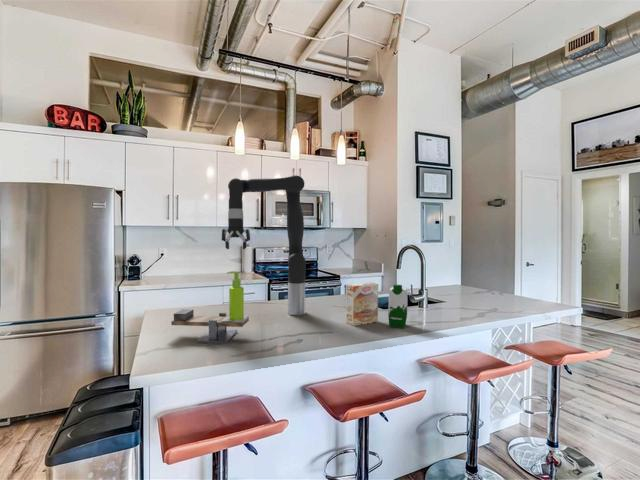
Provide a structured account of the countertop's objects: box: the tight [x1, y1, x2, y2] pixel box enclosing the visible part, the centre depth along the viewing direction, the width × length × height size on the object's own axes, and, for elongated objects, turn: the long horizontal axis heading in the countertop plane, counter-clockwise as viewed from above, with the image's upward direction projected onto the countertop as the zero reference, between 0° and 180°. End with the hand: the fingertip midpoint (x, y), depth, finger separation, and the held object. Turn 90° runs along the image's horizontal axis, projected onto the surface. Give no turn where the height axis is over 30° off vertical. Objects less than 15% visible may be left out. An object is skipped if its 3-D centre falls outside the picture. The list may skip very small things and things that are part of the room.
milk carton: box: [387, 284, 408, 329], centre depth 168 cm, size 9×9×20 cm
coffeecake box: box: [345, 281, 379, 327], centre depth 173 cm, size 15×7×20 cm, turn 117°
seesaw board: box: [170, 308, 250, 328], centre depth 148 cm, size 30×10×5 cm, turn 86°
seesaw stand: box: [196, 312, 238, 345], centre depth 148 cm, size 12×16×9 cm
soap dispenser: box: [226, 270, 245, 320], centre depth 147 cm, size 6×7×20 cm
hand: (236, 249), depth 179 cm, fingers open, 8 cm apart
